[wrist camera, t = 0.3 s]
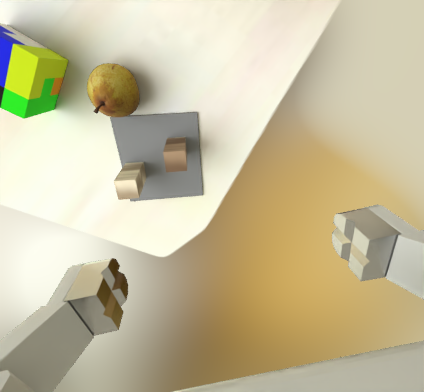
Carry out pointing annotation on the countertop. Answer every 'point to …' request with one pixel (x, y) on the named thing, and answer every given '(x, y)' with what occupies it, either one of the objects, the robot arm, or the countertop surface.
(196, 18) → the countertop surface
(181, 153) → the walnut block
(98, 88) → the fruit
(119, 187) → the ash block
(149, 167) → the mat
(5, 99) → the puzzle toy
